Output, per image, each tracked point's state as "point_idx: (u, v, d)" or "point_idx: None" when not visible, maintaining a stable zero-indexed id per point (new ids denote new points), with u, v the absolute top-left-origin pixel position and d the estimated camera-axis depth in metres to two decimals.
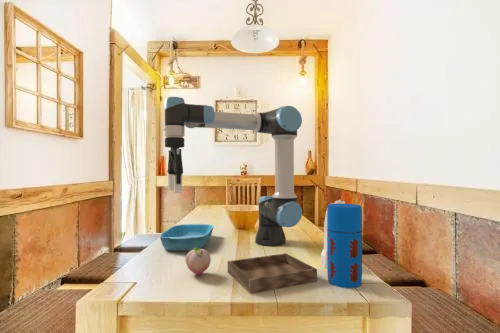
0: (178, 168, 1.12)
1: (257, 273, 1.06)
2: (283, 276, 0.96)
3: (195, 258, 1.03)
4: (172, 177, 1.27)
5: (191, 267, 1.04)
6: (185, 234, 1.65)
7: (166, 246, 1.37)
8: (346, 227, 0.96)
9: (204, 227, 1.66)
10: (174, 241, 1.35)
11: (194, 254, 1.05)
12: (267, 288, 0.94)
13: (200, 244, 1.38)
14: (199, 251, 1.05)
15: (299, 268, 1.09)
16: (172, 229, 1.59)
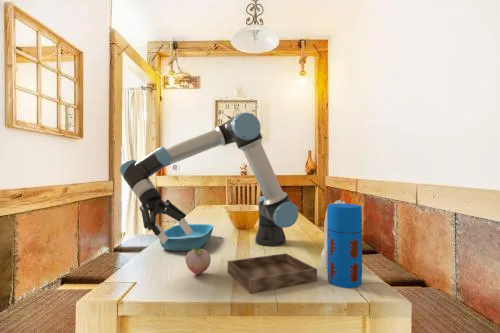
0: (145, 222, 1.05)
1: (257, 273, 1.06)
2: (283, 276, 0.96)
3: (195, 258, 1.03)
4: (182, 222, 1.18)
5: (191, 267, 1.04)
6: (185, 234, 1.65)
7: (164, 246, 1.37)
8: (346, 227, 0.96)
9: (204, 227, 1.66)
10: (172, 241, 1.35)
11: (194, 254, 1.05)
12: (267, 288, 0.94)
13: (198, 244, 1.37)
14: (199, 251, 1.05)
15: (299, 268, 1.09)
16: (172, 229, 1.60)
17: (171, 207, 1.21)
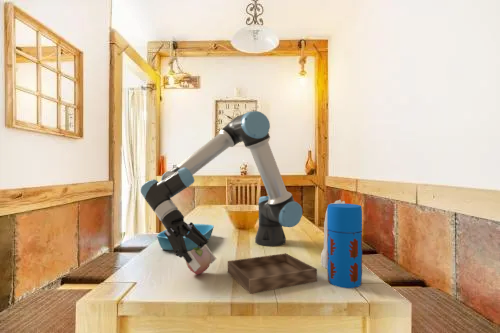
0: (175, 250, 1.02)
1: (257, 273, 1.06)
2: (283, 276, 0.96)
3: (195, 258, 1.04)
4: (204, 249, 1.12)
5: (191, 267, 1.04)
6: None
7: (162, 246, 1.37)
8: (346, 227, 0.96)
9: (205, 227, 1.66)
10: None
11: (194, 254, 1.05)
12: (267, 288, 0.94)
13: (196, 244, 1.37)
14: (199, 251, 1.05)
15: (299, 268, 1.09)
16: None
17: (194, 230, 1.15)
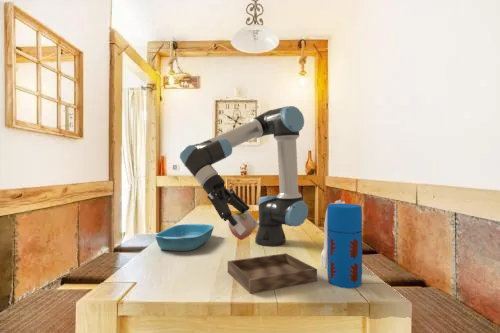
0: (220, 213, 0.99)
1: (257, 273, 1.06)
2: (283, 276, 0.96)
3: (240, 221, 1.01)
4: None
5: (236, 231, 1.01)
6: (187, 234, 1.66)
7: (160, 245, 1.38)
8: (346, 227, 0.96)
9: (205, 227, 1.65)
10: (168, 241, 1.36)
11: (239, 218, 1.02)
12: (267, 288, 0.94)
13: (193, 245, 1.37)
14: (244, 215, 1.02)
15: (299, 268, 1.09)
16: (173, 229, 1.60)
17: (234, 197, 1.13)
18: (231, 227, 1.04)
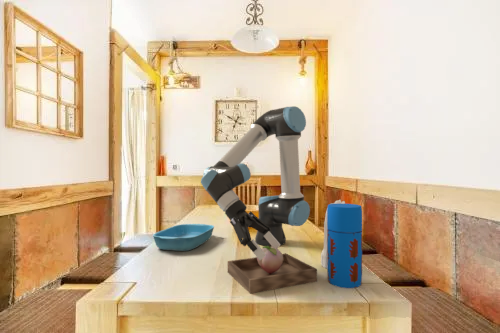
0: (240, 238, 0.99)
1: (257, 273, 1.06)
2: (283, 276, 0.96)
3: (270, 256, 1.02)
4: (268, 236, 1.13)
5: (266, 266, 1.02)
6: (188, 234, 1.66)
7: (158, 245, 1.38)
8: (346, 227, 0.96)
9: (206, 227, 1.65)
10: (164, 240, 1.36)
11: (268, 253, 1.03)
12: (267, 288, 0.94)
13: (190, 245, 1.36)
14: (273, 249, 1.03)
15: (299, 268, 1.09)
16: (174, 228, 1.61)
17: (255, 219, 1.15)
18: (260, 261, 1.04)
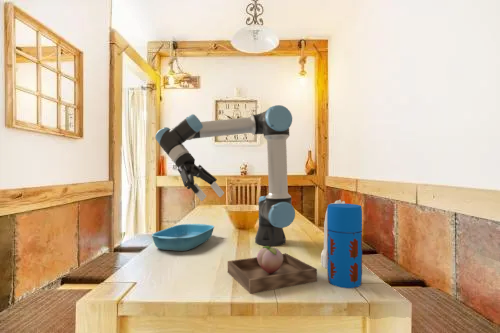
0: (184, 181, 1.15)
1: (257, 273, 1.06)
2: (283, 276, 0.96)
3: (270, 256, 1.02)
4: (214, 185, 1.28)
5: (266, 266, 1.02)
6: (189, 234, 1.66)
7: (156, 245, 1.39)
8: (346, 227, 0.96)
9: (207, 228, 1.64)
10: (163, 240, 1.37)
11: (268, 252, 1.03)
12: (267, 288, 0.94)
13: (188, 245, 1.36)
14: (273, 249, 1.03)
15: (299, 268, 1.09)
16: (174, 228, 1.61)
17: None
18: (260, 261, 1.04)
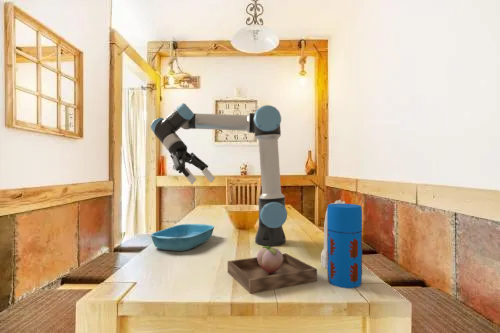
0: (176, 166, 1.24)
1: (257, 273, 1.06)
2: (283, 276, 0.96)
3: (270, 256, 1.02)
4: (205, 171, 1.37)
5: (266, 266, 1.02)
6: (189, 234, 1.66)
7: (155, 245, 1.39)
8: (346, 227, 0.96)
9: (207, 228, 1.64)
10: (161, 240, 1.37)
11: (268, 252, 1.03)
12: (267, 288, 0.94)
13: (186, 245, 1.36)
14: (273, 249, 1.03)
15: (299, 268, 1.09)
16: (174, 228, 1.62)
17: (195, 159, 1.39)
18: (260, 261, 1.04)
